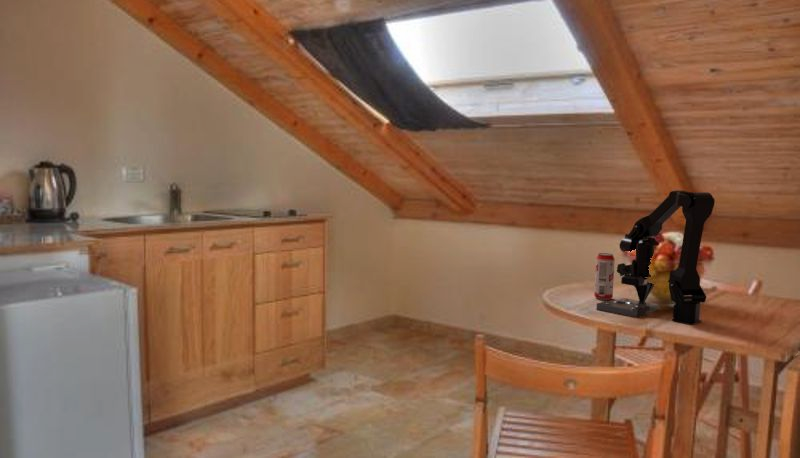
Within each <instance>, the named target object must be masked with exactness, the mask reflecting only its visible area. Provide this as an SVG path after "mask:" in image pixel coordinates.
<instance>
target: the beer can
mask: <svg viewBox="0 0 800 458" xmlns="http://www.w3.org/2000/svg"><path fill="white" fill-rule="evenodd" d="M615 260H616V259H615V257H614V254H613V253H607V252H599V253H597V257H596V259H595V277H594V297H595V299H596V300H601V301H610V300H611V299H613V297H614V296H613V295H614V280H615V276H614V275H615Z"/></svg>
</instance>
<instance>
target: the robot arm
mask: <svg viewBox="0 0 800 458" xmlns="http://www.w3.org/2000/svg"><path fill="white" fill-rule="evenodd" d="M714 206H715V198H714V196H713V194H712V193H710V192H708V191H705V192H703V191H702V192H701V191H695V192H694V191H693V192H692V191H686V190H681V189H680V190H676V189H674V190H672V191H670V192H669V193H668V196H666V198H665V199H664V200H663V201H661V203H660V204H659V205H658V206H657V207H656V208H655V209H653V211H652V212H651V213H649V214H648V215H645V216H642V217H641V218H639V219H637V220H636V221H635V223H634V224H633V226H632V229H631V230H630V232H629V233H625V235H624V237H623V238H622V239H621V240H620V243H619V250H620V251H621V252H622V253H624V252H625V251H630V252H631V251H632V250H635V249H636V255H635V259H633V260H632V261H631V263H630V264H627V265H626V264H625V263H618V264H617V267H616V272H617V274H619V275H620V277H621V281H620V284H622V285H626V286H627V285H628V286H633V287H634V288H635V290H636V293H637V296H638V301H643V302H646V300H647V299H648V296H649V295H650V294H651V292H652V290H653V288H654V287H655V286H654V284H652V283H649V282H648V278H645V277H651V275H650V274H649V270H648V269H649V267H648V266H649V265H650V264H651V262H650V260H651V259H650V258H652V256H653V254H654V255H655V247H656V246H660V243H659V242H658V241H657V240H656V237H657V236H659V234H660V232H661V231H662V230H663V224H664V223H665V222H666V221H667V220H669V218H670V217H671V216H672V215H673V214H674V213H676V212H677V211H678V210H679V209H680V208H681V210H682V211H681V212H682V214H683V216H684V220H685V224H684V225H685V226H684V231H683V238H682V243H681V250H680V255H679V260H678V265H677V267H676V268H675V269H670V272H669V278H668V281H667V283H668V289H669V294H670V295H669V296H670V300H671V302H672V301H673V303H675V304H673V310H672V311H673V313H672V318H671V321H673V322H677V323H681V324H688V325H692V326H693V325H696V324H698V323H702V319H700V313H701V303H705V302H706V300H707V295H706V293H705V292H704V291H705V290H704V289H703V288H702V286H701V276H700V274H699V272H698V270H697V267H698V262H699V256H700V255H699V254H700V249H701V242H702V237H703V230H704V226H705V223H706V221H707V220H708V219H709V218H710V217H711V215H712V213H713V209H714Z"/></svg>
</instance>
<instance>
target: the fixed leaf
mask: <svg viewBox="0 0 800 458" xmlns="http://www.w3.org/2000/svg"><path fill="white" fill-rule="evenodd" d="M596 310H597V311H602V312H607V313H611V312H612V314H616V313H618V314H617V315H621V314H622V316H626V315H627V317H631V318H636V317H637V318H641V317H644V316H646V315H647V312H646V310H647V309H645V306H641V305H634V306H629V305H624V304H623V303H622V302H619V301H616V300H612V301H609V300H604V301H602V302H601V301H600V302H598V303H596ZM640 316H641V317H640Z"/></svg>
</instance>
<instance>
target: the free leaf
mask: <svg viewBox="0 0 800 458" xmlns="http://www.w3.org/2000/svg"><path fill="white" fill-rule="evenodd" d="M615 301H619V302H622V303H623V304H624V305H629V306H634V305H641V306H645V309H647V310H646V313H653V312H656V311H658V310H659V304H658V303H655V302H654V303H653V302H650V301H649V302H648V301H645V302H643V301H639V299H638V300H636V299H630V298H624V297H623V298H618V299H615Z"/></svg>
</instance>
